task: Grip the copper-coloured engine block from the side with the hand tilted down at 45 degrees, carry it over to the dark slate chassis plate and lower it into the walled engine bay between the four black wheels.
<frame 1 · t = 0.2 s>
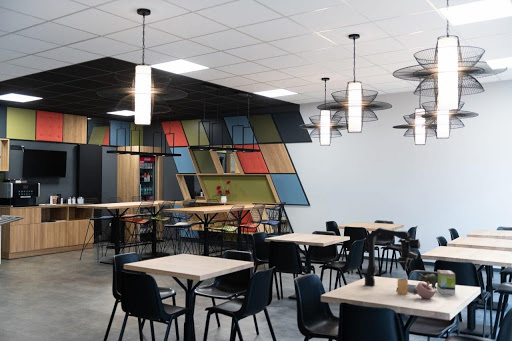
hand: (406, 269, 347), 14 cm above the table, tool pointing down, fingers open, 9 cm apart
chassis: (410, 290, 344), on the table
dinosaur figurine: (431, 287, 355), on the table
engine block: (402, 293, 333), on the table
tea box: (446, 292, 339), on the table
mortar and pestle: (426, 298, 319), on the table
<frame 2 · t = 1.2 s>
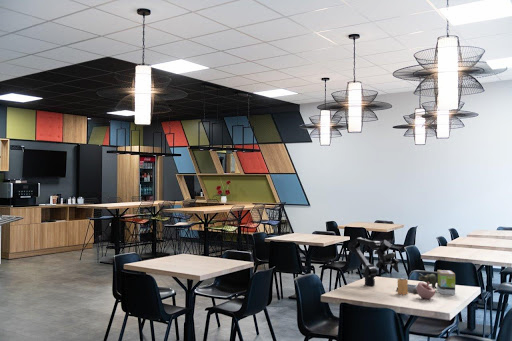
hand: (393, 272, 341), 13 cm above the table, tool tilted 45°, fingers open, 9 cm apart
nothing on the table moved.
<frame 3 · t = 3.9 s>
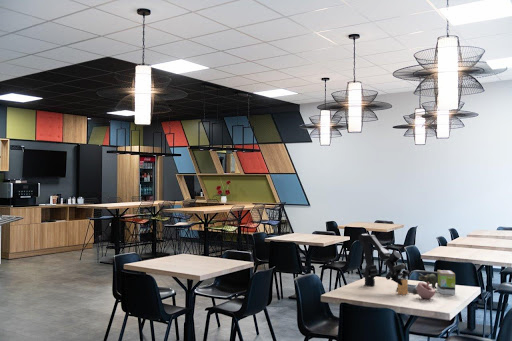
hand: (404, 284, 332), 7 cm above the table, tool tilted 45°, fingers closed on engine block, 4 cm apart
engine block: (402, 293, 333), on the table, touching gripper
everything else where it was.
when the fingers open (9 cm above the table, at t = 7.0 s): engine block drops 1 cm, resting on chassis.
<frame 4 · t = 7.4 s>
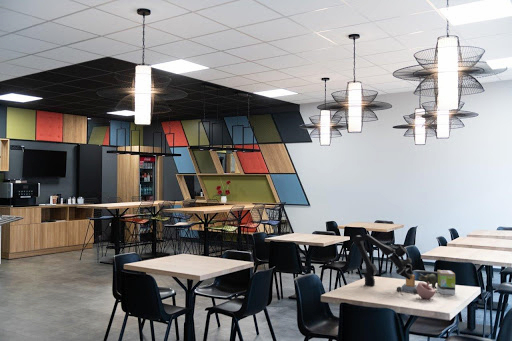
hand: (412, 278, 343), 9 cm above the table, tool tilted 45°, fingers open, 9 cm apart
engine block: (410, 289, 344), point 1 cm above the table, touching chassis
everything else where it was.
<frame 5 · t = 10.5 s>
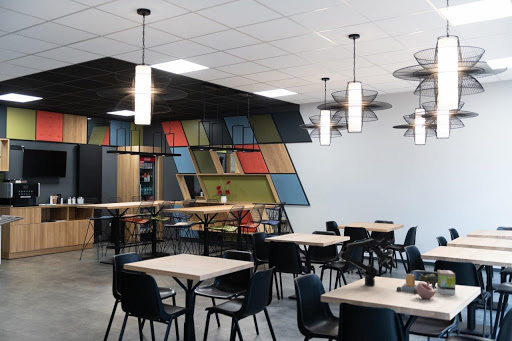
hand: (393, 268, 356), 14 cm above the table, tool tilted 45°, fingers open, 9 cm apart
nothing on the table moved.
at the end: engine block 0.0 cm off-centre on the chassis, point 1.0 cm above the chassis's base; engine block tilted 0°; the gripper is holding nothing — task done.
